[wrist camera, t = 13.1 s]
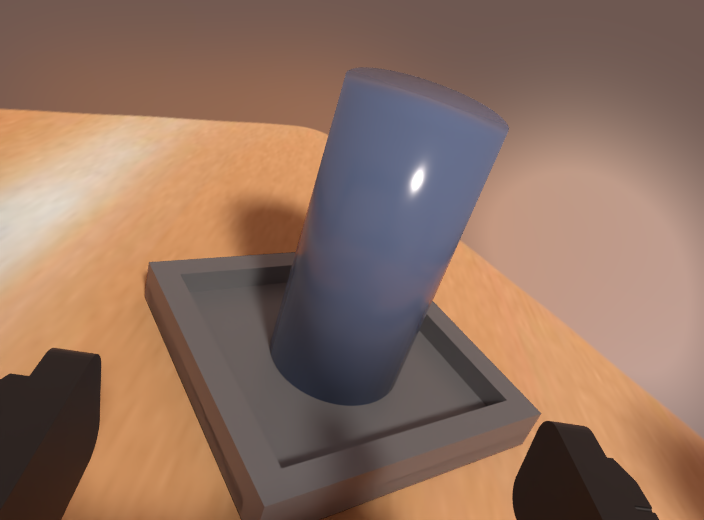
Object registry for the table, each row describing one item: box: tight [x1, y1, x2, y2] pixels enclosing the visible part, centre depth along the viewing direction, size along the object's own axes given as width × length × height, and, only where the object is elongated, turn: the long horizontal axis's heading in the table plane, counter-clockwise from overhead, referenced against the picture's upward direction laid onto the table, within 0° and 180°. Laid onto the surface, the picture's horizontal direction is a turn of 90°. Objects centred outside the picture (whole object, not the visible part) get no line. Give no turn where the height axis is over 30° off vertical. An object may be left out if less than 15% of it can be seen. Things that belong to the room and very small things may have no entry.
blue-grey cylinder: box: [270, 68, 509, 406], centre depth 21 cm, size 5×5×11 cm
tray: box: [145, 252, 541, 520], centre depth 24 cm, size 12×12×2 cm
